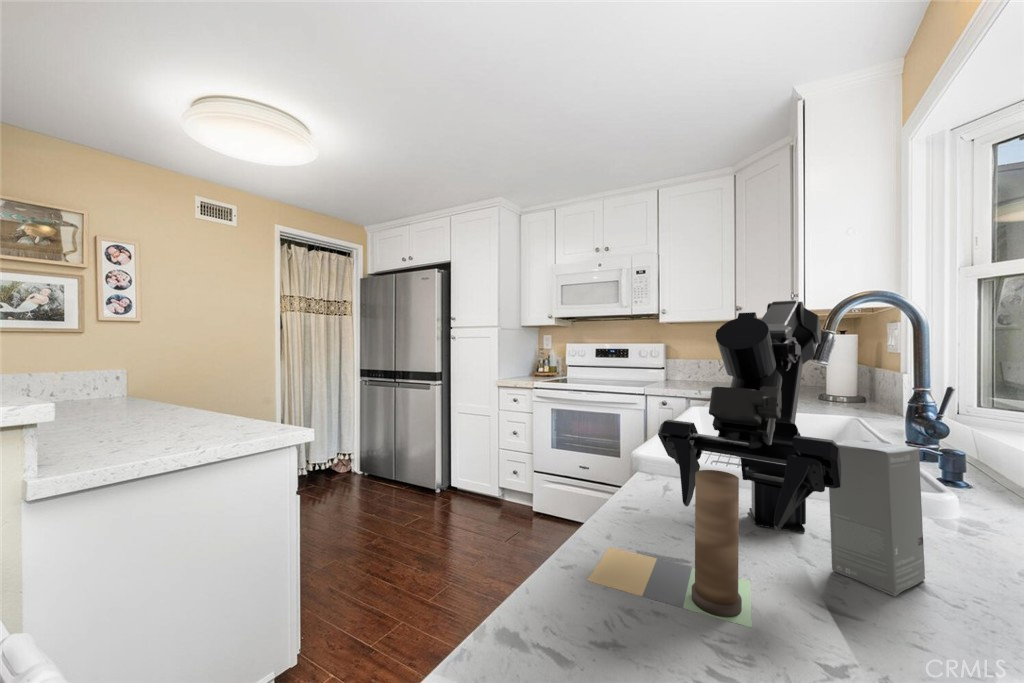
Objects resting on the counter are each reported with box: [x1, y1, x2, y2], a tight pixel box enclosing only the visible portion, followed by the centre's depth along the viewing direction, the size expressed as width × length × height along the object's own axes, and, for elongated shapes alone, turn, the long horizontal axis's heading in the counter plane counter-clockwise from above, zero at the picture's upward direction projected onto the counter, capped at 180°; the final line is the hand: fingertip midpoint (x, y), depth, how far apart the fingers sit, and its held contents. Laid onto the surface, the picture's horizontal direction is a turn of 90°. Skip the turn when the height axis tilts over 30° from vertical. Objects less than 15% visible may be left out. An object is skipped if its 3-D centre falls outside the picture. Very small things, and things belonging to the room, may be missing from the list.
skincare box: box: [828, 439, 926, 597], centre depth 51 cm, size 8×7×16 cm
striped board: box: [586, 546, 753, 629], centre depth 47 cm, size 16×9×1 cm, turn 61°
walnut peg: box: [692, 469, 742, 617], centre depth 43 cm, size 5×5×13 cm
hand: (727, 515), depth 46 cm, fingers open, 9 cm apart
